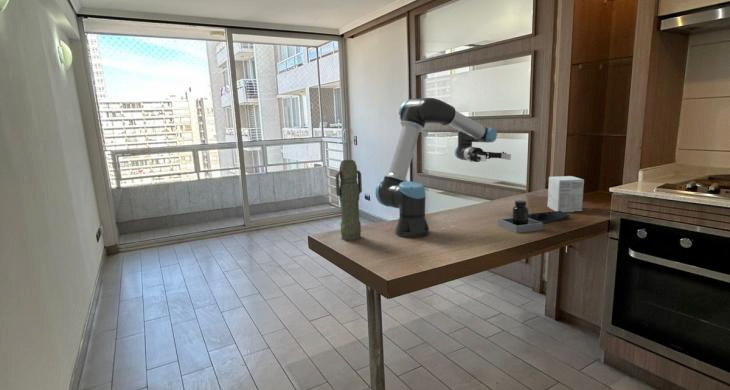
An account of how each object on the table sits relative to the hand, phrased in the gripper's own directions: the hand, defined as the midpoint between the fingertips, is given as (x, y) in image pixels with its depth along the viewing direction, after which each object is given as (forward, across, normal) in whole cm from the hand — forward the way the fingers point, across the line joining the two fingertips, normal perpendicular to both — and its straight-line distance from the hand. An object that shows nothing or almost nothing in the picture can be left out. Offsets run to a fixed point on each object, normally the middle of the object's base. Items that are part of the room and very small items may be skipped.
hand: (497, 157), depth 188 cm
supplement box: (-9, -49, -32) cm, 59 cm away
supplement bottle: (+12, -5, -32) cm, 34 cm away
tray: (+12, -5, -32) cm, 34 cm away
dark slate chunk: (+3, -26, -33) cm, 42 cm away
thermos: (-2, +73, -32) cm, 80 cm away
